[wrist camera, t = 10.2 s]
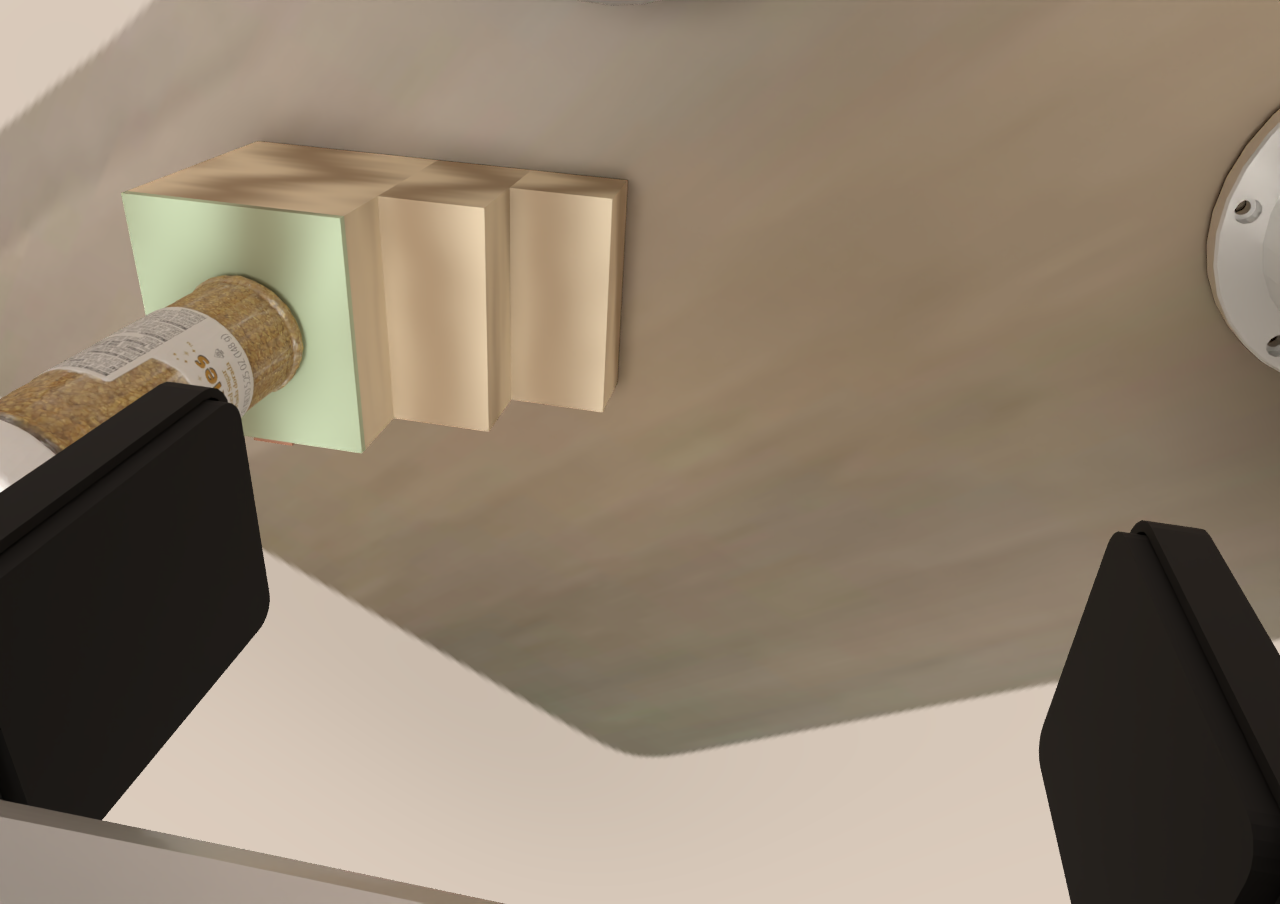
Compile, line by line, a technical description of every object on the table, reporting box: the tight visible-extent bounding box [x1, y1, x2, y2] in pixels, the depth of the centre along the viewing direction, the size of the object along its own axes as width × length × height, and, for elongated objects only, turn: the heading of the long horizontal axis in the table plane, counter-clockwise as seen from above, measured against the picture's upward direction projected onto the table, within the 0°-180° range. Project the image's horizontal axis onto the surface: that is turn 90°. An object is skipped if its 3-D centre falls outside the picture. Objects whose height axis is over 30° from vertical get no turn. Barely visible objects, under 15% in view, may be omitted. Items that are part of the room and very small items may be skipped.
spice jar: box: [0, 275, 304, 492], centre depth 29 cm, size 5×5×13 cm
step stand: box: [121, 141, 628, 453], centre depth 39 cm, size 16×10×9 cm, turn 87°
